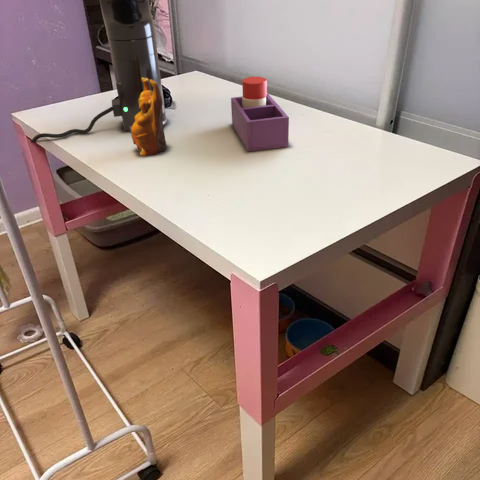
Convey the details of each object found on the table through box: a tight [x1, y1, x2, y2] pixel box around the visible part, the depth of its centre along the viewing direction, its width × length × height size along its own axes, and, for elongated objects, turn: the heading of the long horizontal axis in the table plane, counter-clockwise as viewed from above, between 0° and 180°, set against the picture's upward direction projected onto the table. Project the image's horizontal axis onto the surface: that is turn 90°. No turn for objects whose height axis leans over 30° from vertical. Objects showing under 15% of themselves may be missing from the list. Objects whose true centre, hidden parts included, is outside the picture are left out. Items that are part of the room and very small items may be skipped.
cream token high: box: [241, 95, 266, 108], centre depth 103 cm, size 5×5×3 cm
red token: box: [241, 76, 268, 100], centre depth 101 cm, size 5×5×3 cm
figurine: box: [130, 78, 168, 157], centre depth 95 cm, size 6×7×13 cm
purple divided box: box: [230, 93, 290, 153], centre depth 102 cm, size 8×15×6 cm, turn 12°
